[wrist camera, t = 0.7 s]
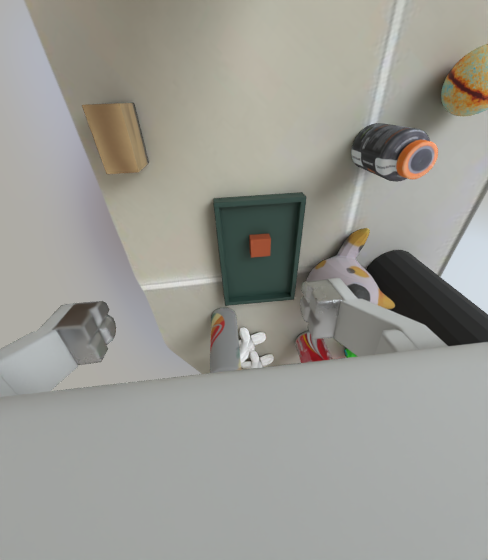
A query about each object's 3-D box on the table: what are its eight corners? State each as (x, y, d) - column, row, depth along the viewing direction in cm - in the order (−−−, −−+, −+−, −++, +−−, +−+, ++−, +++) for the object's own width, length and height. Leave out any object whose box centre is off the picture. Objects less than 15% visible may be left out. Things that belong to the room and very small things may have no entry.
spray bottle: (206, 316, 54) (201, 405, 38) (224, 302, 52) (228, 391, 36) (223, 328, 57) (225, 416, 41) (241, 315, 55) (251, 403, 39)
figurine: (290, 300, 50) (333, 329, 36) (314, 219, 48) (371, 217, 34) (336, 309, 54) (392, 339, 40) (361, 234, 51) (430, 239, 37)
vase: (358, 290, 54) (472, 441, 30) (372, 251, 48) (528, 402, 24) (402, 287, 55) (547, 432, 31) (420, 248, 48) (620, 391, 25)
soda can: (297, 349, 65) (312, 396, 55) (291, 333, 61) (307, 381, 50) (322, 342, 64) (343, 389, 54) (319, 325, 60) (340, 372, 49)
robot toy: (276, 365, 68) (294, 445, 52) (228, 376, 70) (232, 458, 54) (261, 321, 57) (278, 407, 41) (205, 336, 58) (200, 425, 42)
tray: (213, 198, 39) (213, 203, 37) (302, 192, 39) (306, 196, 38) (224, 298, 52) (225, 305, 50) (291, 292, 52) (294, 299, 51)
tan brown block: (121, 164, 34) (106, 174, 30) (102, 104, 30) (81, 104, 26) (149, 162, 35) (138, 172, 30) (134, 102, 30) (119, 103, 26)
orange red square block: (249, 234, 42) (250, 240, 41) (268, 233, 42) (270, 238, 41) (249, 252, 44) (250, 257, 43) (268, 250, 44) (270, 256, 43)
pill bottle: (347, 170, 38) (389, 192, 29) (352, 126, 34) (401, 135, 25) (385, 164, 38) (437, 183, 29) (394, 119, 34) (457, 126, 25)
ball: (456, 38, 30) (512, 23, 24) (495, 61, 31) (555, 52, 26) (417, 104, 34) (457, 105, 28) (453, 122, 35) (498, 126, 30)
